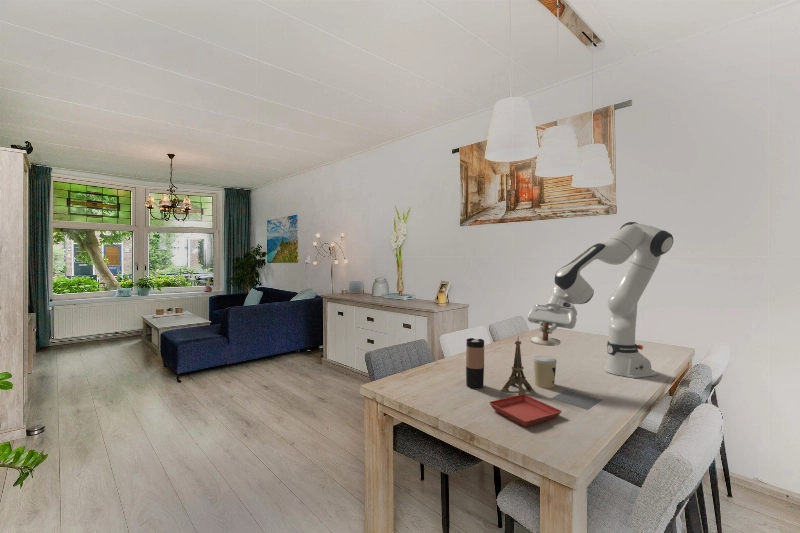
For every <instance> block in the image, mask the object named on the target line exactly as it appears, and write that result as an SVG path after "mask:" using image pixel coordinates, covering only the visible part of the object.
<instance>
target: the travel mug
mask: <svg viewBox="0 0 800 533" xmlns="http://www.w3.org/2000/svg"><path fill="white" fill-rule="evenodd" d="M465 346H466V349H465V351H466V352H465V353H466V354H465V355H466V356H465V378H466V379H465V381H466V382H465V383H466V385H465V386H466V387H467V388H469V389H473V390H478V389H479V390H480V389H483V387H484V377H485V339H482V338H478V339H476V338H474V337H469V338H467V339H466V344H465Z"/></svg>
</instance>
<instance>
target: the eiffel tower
mask: <svg viewBox="0 0 800 533" xmlns="http://www.w3.org/2000/svg"><path fill="white" fill-rule="evenodd" d="M514 344H515V351H514V352H515V353H514V360H513V366H511V370H512V371H511V374H510V376H509V377H508V380H507V382H506V383H505V384H504V386H503V387H502V388H501V389H500V390H499V392H501V393H505V394H506V393H507V392H509V391H510V389H509V388H510V387H516V386H518V395H521V394H524V395H527V393H526V391H533V390H534V388H533V387H532V385H531V384H530V383H529V381H528V380H527V379H526V378H527V377H526V376H525V374H524V371H523V370H524V366H523V365H522V363H523V362H522V354H521V344H522V342H521V341H520V340H519V337H517V340H515V342H514ZM523 386H524V387H523ZM524 388H525V389H524ZM525 390H526V391H525Z"/></svg>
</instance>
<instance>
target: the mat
mask: <svg viewBox="0 0 800 533" xmlns="http://www.w3.org/2000/svg"><path fill="white" fill-rule="evenodd" d="M550 399H551V400H555V401H557V402H561V403H563V404H568V405H571V406H575V407H577V408H581V409H584V410H586V411H587V410H590V409H592V407H594V406H595V405H597V404H598V403H600V402H601V401H602V400H603V399H602V398H598V397H595V396H591V395H588V394H584V393H580V392H576V391H573V390H570V389H565V390H564V391H562V392H560V393H558V394H556V395H554V396H552V397H551V398H550Z"/></svg>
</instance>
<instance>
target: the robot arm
mask: <svg viewBox="0 0 800 533" xmlns="http://www.w3.org/2000/svg"><path fill="white" fill-rule="evenodd" d="M673 244H674V237H673V235H672V234H671V233H670V232H669V231H666V230H662V229H660V228H657V227H655V226H652V225H649V224H648V225H647V224H643V223H638V222H636V221H635V222H634V221H628V222H625V223H624V224H622V225H621V227H620V228H619V230H618V231H616V232H615V233H614V234H612V235H611V237H610V238H609V239H608V240H607V241H605V242H603V243H602V242H601V243H600V242H599V243H596V244H593V245H592V246H590V247H589V248H587V249H586V250H584V252H582V253H581V254H580V255H578V256H577V257H576V258H573V260H571V262H569V263H568V264H566V265H564V266H562V267H561V268H559V269H558V270H557V271H556V272H555V275H554V286H553V287H552V289H551V294H550V295H549V296H548V298H547V301H546V303H545V305H543V304H536V305H533V306H532V307H531V309H530V310H529V312H528V314H527V316H526V317H527V320H528V322H529V323H532V324H539V328H538V330H539V333H543V322H548V323H549V328H548V330H547V332H548V335H549V334H550V335H551V334H552V333H553V331H555V330H556V329H558V328H561V329H564V328H565V329H569V330H572V329H574V328H575V326H576V323H577V321H578V320H577V315H578V312H577V308H576V307H575V306H574V305H584V304H587V303H589V302H590V301H591V300H592V298H593V296H594V294H595V291H594V288H593V287H592V286H591V285H590V284H589V282H588V281H587V280H586V279H585V278H584V277H583V276H582V275H581V271H582V270H584V268H586V267H587V266H589V265H590V264H591V263H592V262H593V261H596V260H599V261H601V262H603V263H606V264H608V265H613V266H614V265H615V266H616V265H617V266H618V265H622V264H624V263H625V262H626V261H628V259H629V261H628V263H627V264H626V267H625V268H624V271H623V272H622V275H621V276H620V278H619V280H618V282H617V283H616V285H615V287H614V289H613V291H612V292H611V294H610V295H609V298H608V299H607V307H608V309H609V311H610V314H609V315H610V317H609V322H608V340H607V343H606V347H607V348H606V352H607V353H606V354H607V356H606V361H605V364H604V367H603V370H604V371H605V372H607V373H609V374H612V375H617V376H620V377H621V376H622V377H628V378H631V379H637V378H638V379H639V378H646V377H652V376H658V372H657V371H655V370H654V369H652V364H651V361H650V360H649V359H648V358H647V357H646V356H644V355H643V354H642V353H641V352H639V350H642V351H643V349H644V345H641V344H636V326H637V318H638V317H637V315H638V303H639V301H640V299H641V296H642V295H643V293H644V291H645V290H646V288H647V286H648V284H649V282H650V281H651V278H652V277H653V276H654V273H655V271H656V269H657V267H658V265H659V262H660V259H661V257H662V256H663V255H665V254H666V253H668V252H669V251H670V250H671V249H672V246H673Z"/></svg>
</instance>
